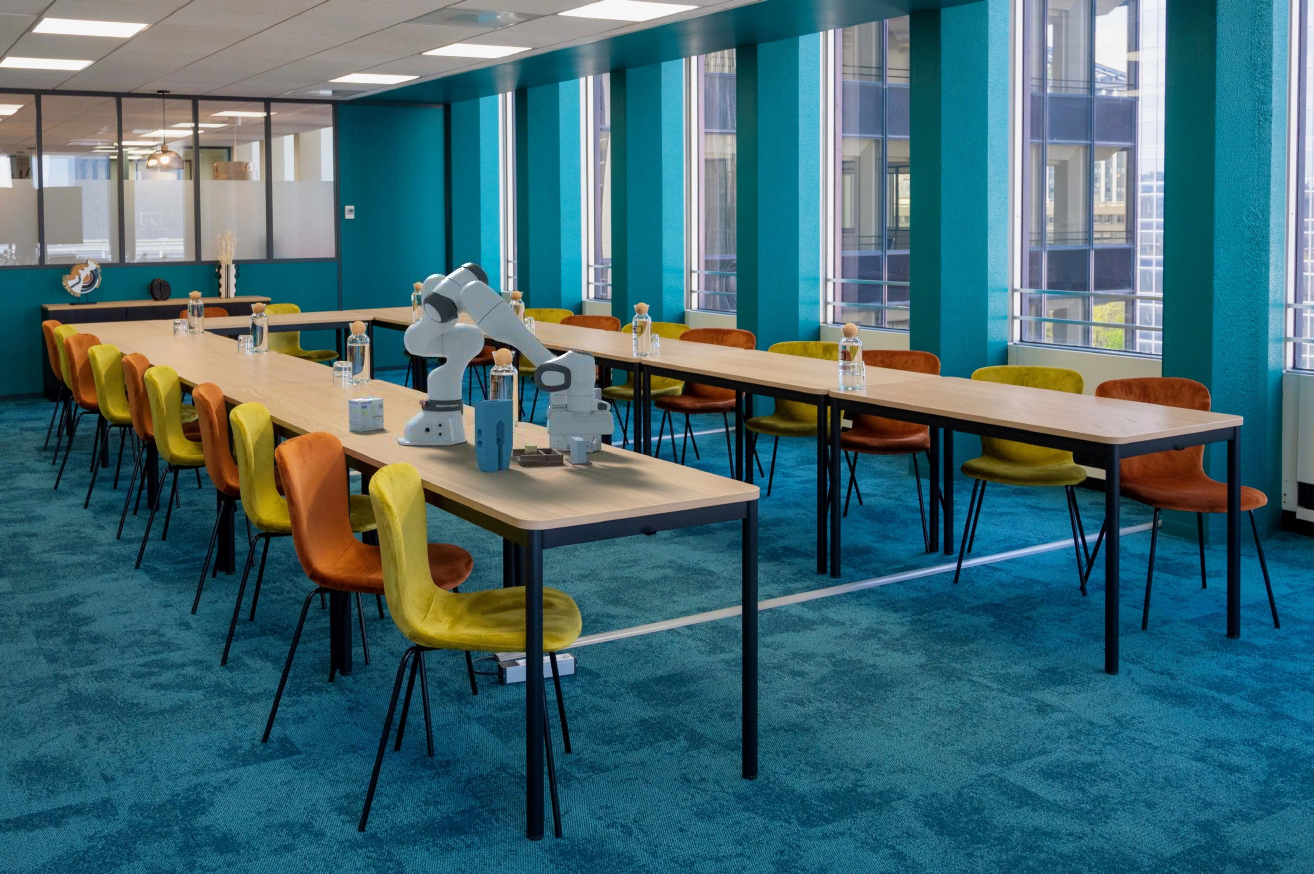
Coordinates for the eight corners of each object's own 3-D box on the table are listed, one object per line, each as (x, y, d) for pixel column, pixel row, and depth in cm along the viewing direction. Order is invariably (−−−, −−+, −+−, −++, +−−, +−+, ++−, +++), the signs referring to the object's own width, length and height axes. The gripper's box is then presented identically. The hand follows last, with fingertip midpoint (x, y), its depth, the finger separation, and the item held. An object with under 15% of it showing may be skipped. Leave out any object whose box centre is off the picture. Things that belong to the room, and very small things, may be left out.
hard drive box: (602, 449, 403) (602, 388, 400) (593, 453, 395) (593, 390, 392) (557, 446, 408) (558, 385, 405) (548, 450, 400) (548, 388, 397)
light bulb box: (371, 426, 444) (371, 396, 442) (384, 428, 440) (384, 398, 438) (348, 430, 435) (347, 399, 434) (361, 432, 431) (360, 401, 430)
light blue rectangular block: (577, 463, 375) (577, 441, 374) (570, 458, 384) (570, 437, 383) (585, 462, 376) (586, 441, 375) (578, 457, 385) (579, 436, 384)
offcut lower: (527, 457, 378) (527, 451, 378) (524, 455, 382) (524, 449, 382) (537, 457, 379) (537, 451, 379) (534, 455, 383) (534, 449, 383)
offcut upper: (527, 451, 378) (527, 445, 378) (524, 449, 382) (524, 443, 382) (537, 451, 379) (537, 445, 379) (534, 449, 383) (534, 443, 383)
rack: (512, 458, 383) (512, 448, 383) (554, 457, 387) (554, 447, 387) (520, 466, 371) (520, 456, 371) (563, 464, 375) (563, 454, 374)
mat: (572, 464, 375) (572, 463, 375) (564, 459, 384) (564, 457, 384) (591, 464, 376) (591, 462, 376) (583, 458, 386) (583, 457, 386)
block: (501, 465, 371) (501, 398, 368) (514, 467, 369) (514, 400, 366) (473, 470, 362) (473, 402, 359) (486, 472, 359) (485, 403, 356)
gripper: (548, 406, 369) (548, 452, 371) (615, 404, 375) (615, 450, 377) (544, 403, 375) (544, 448, 377) (610, 402, 381) (609, 446, 383)
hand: (580, 449), depth 377 cm, fingers open, 7 cm apart
